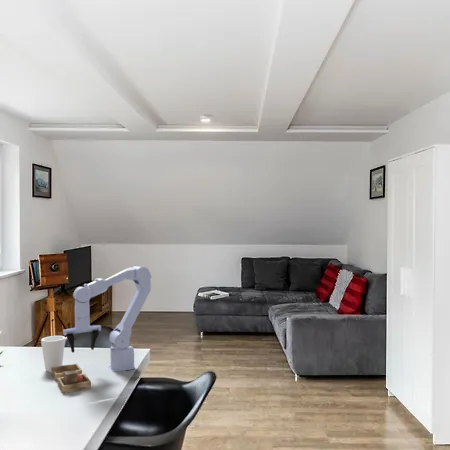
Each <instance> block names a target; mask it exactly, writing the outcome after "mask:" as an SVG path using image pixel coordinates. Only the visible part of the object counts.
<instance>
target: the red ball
mask: <svg viewBox="0 0 450 450" xmlns="http://www.w3.org/2000/svg"><path fill="white" fill-rule="evenodd" d="M82 381H83V377H82V375H78V383H81V382H82Z"/></svg>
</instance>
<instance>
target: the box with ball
mask: <svg viewBox="0 0 450 450" xmlns="http://www.w3.org/2000/svg"><path fill="white" fill-rule="evenodd" d="M80 375H82V377H83V381H82V382H81V383H75V384H69V385H64V377H62V378H58V381H57V387H58V388H59V390H60V392H61V393H62V394H67V393H68V394H69V393H73V392H77V391H84V390H88V389H89V390H90V389H92V381H91V380H90V378H89V377H88V376H87V375H86V373H82V374H80Z"/></svg>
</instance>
